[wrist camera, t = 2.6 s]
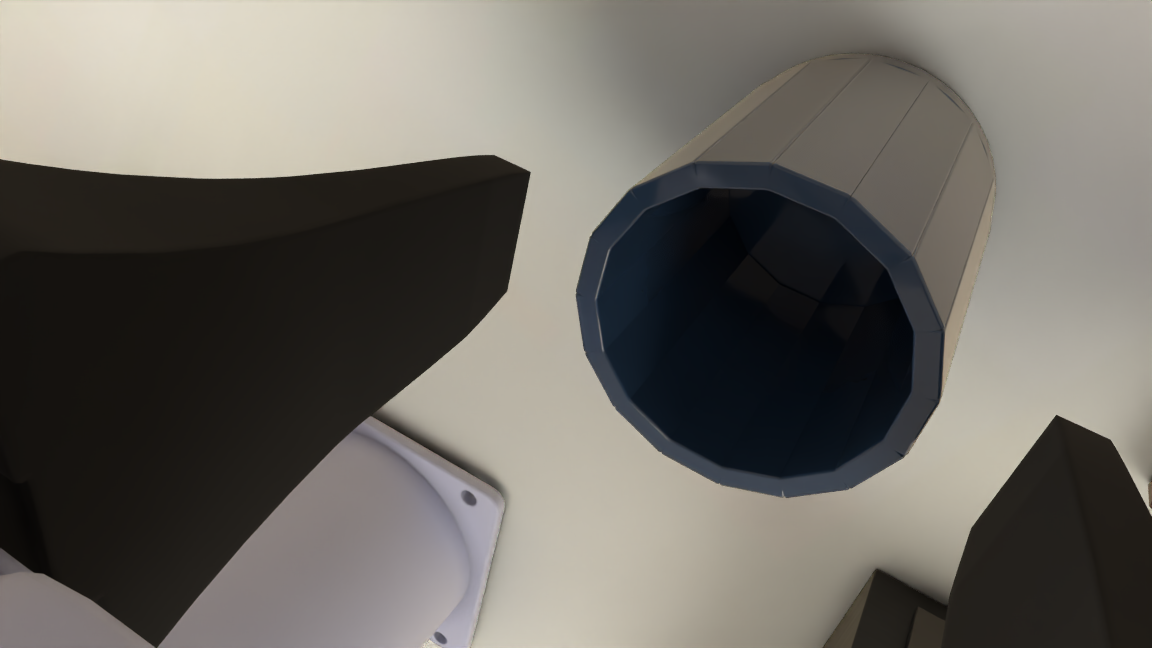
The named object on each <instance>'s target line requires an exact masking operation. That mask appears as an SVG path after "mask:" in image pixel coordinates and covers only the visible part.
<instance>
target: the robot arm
mask: <svg viewBox="0 0 1152 648" xmlns="http://www.w3.org/2000/svg"><path fill="white" fill-rule="evenodd" d="M530 173H531V172H530V171H527V170H525V169H523V168H521V167H519V166H517V165H514V164H512V163H510V162H508V161H506V160H504V159H501V158H499V157H497V156H495V155H478V156H465V157H456V158H447V159H439V160H432V161H424V162H417V163H409V164H402V165H394V166H387V167H379V168H372V169H364V170H354V171H344V172H334V173H323V174H313V175H303V176H291V177H275V178H244V179H195V178H175V177H156V176H137V175H120V174H109V173H99V172H90V171H80V170H71V169H63V168H56V167H48V166H41V165H33V164H26V163H20V162H13V161H7V160H1V159H0V648H422V647H423V646H424V645H425V644H426V642H427V641H428V640H429V639H430V640H431V641H433V642H434V643H436V644H437V645H439V646H440V647H442V648H470V647H471V645H472V641H473V637H474V633H475V629H476V624H477V620H478V616H479V612H480V608H481V604H482V600H483V596H484V592H485V587H486V583H487V579H488V575H489V571H490V567H491V563H492V559H493V555H494V550H495V546H496V542H497V538H498V534H499V530H500V526H501V522H502V518H503V513H504V509H505V502H504V499H503V497H502V495H501V494H500V493H499V491H497V490H496V489H495V488H493V487H492V486H490V485H488V484H487V483H485V482H483V481H481V480H480V479H478V478H476V477H475V476H473V475H471V474H469V473H468V472H466V471H464V470H463V469H461V468H459V467H458V466H456V465H454V464H452V463H451V462H449V461H447V460H446V459H444V458H442V457H440V456H439V455H437V454H435V453H434V452H432V451H430V450H428V449H427V448H425V447H423V446H422V445H420V444H418V443H416V442H415V441H413V440H411V439H410V438H408V437H406V436H404V435H403V434H401V433H399V432H398V431H396V430H394V429H393V428H391V427H389V426H387V425H386V424H384V423H382V422H381V421H379V420H377V419H375V418H374V417H372V416H371V415H372V414H373V413H375V412H376V411H377V410H378V409H379V408H381V407H382V406H383V405H384V404H386V403H387V402H388V401H389V400H390V399H392V398H393V397H394V396H395V395H397V394H398V393H399V392H400V391H401V390H403V389H404V388H405V387H406V386H408V385H409V384H410V383H411V382H413V381H414V380H415V379H416V378H417V377H419V376H420V375H421V374H422V373H424V372H425V371H426V370H427V369H428V368H430V367H431V366H432V365H433V364H434V363H436V362H437V361H438V360H439V359H440V358H442V357H443V356H444V355H445V354H446V353H448V352H449V351H450V350H451V349H452V348H454V347H455V346H456V345H457V344H458V343H460V342H461V341H462V340H463V339H464V338H465V337H466V336H467V335H468V334H469V333H470V332H471V331H472V330H473V329H474V328H475V327H476V326H477V325H478V324H479V322H480V321H481V320H482V319H483V318H484V317H485V316H486V315H487V314H488V313H489V311H490V310H491V309H492V308H493V307H494V306H495V304H496V303H497V302H498V301H499V300H500V299H501V297H502V296H503V295H504V294H505V293H506V292H507V289H508V284H509V279H510V274H511V269H512V264H513V259H514V254H515V249H516V244H517V239H518V234H519V229H520V224H521V219H522V214H523V209H524V203H525V198H526V193H527V188H528V183H529V178H530ZM941 648H1152V516H1151V514H1150V512H1149V510H1148V508H1147V506H1146V505H1145V503H1144V501H1143V499H1142V497H1141V495H1140V493H1139V491H1138V489H1137V487H1136V485H1135V483H1134V481H1133V479H1132V477H1131V475H1130V473H1129V472H1128V470H1127V468H1126V466H1125V464H1124V462H1123V460H1122V458H1121V457H1120V455H1119V453H1118V451H1117V450H1116V448H1115V446H1114V445H1113V443H1112V441H1111V440H1110V439H1108V438H1105V437H1103V436H1101V435H1099V434H1097V433H1095V432H1092V431H1090V430H1088V429H1086V428H1084V427H1082V426H1079V425H1077V424H1075V423H1073V422H1071V421H1069V420H1066V419H1064V418H1062V417H1060V416H1058V415H1056V416H1055V417H1054V419H1053V420H1052V421H1051V423H1050V424H1049V425H1048V427H1047V428H1046V429H1045V431H1044V432H1043V433H1042V435H1041V436H1040V437H1039V439H1038V440H1037V441H1036V443H1035V444H1034V445H1033V447H1032V448H1031V449H1030V451H1029V452H1028V453H1027V455H1026V456H1025V457H1024V459H1023V460H1022V461H1021V463H1020V464H1019V465H1018V467H1017V468H1016V469H1015V471H1014V472H1013V473H1012V475H1011V476H1010V477H1009V479H1008V480H1007V481H1006V483H1005V484H1004V485H1003V487H1002V488H1001V489H1000V491H999V492H998V493H997V495H996V496H995V497H994V499H993V500H992V501H991V503H990V504H989V505H988V507H987V508H986V509H985V511H984V512H983V513H982V515H981V516H980V517H979V519H978V520H977V521H976V523H975V524H974V525H973V527H972V528H971V531H970V534H969V537H968V540H967V543H966V546H965V549H964V552H963V555H962V558H961V561H960V564H959V567H958V570H957V573H956V577H955V580H954V583H953V587H952V590H951V593H950V597H949V602H948V608H947V614H946V620H945V626H944V632H943V638H942V645H941Z"/></svg>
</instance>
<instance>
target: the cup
mask: <svg viewBox="0 0 1152 648" xmlns="http://www.w3.org/2000/svg"><path fill="white" fill-rule="evenodd" d="M995 196H996V175H995V168H994V162H993V157H992V154H991V150H990V147H989V144H988V141H987V138H986V136H985V134H984V132H983V130H982V128H981V126H980V124H979V122H978V121H977V119H976V118H975V116H974V115H973V113H972V112H971V110H970V109H969V107H968V106H967V105H966V104H965V103H964V102H963V101H962V100H961V99H960V97H959V96H958V95H957V94H956V93H955V92H954V91H952V90H951V89H950V88H949V87H948V86H946V85H945V84H944V83H943V82H942V81H940V80H939V79H937V78H936V77H934V76H932V75H931V74H929V73H927V72H926V71H924V70H922V69H920V68H918V67H915V66H913V65H911V64H909V63H907V62H904V61H900V60H897V59H893V58H890V57H886V56H880V55H874V54H865V53H844V54H835V55H828V56H824V57H819V58H815V59H811V60H808V61H806V62H803V63H801V64H798V65H796V66H793V67H791V68H790V69H788V70H786V71H784V72H782V73H780V74H779V75H777V76H776V77H774V78H773V79H771V80H769V81H767V82H765V83H763V84H761V85H760V86H759V87H757V88H756V89H755V90H754V91H752V92H751V93H750V94H749V95H747V96H746V97H745V98H744V99H742V100H741V101H740V102H739V103H737V104H736V105H735V106H733V107H732V108H731V109H730V110H728V111H727V112H726V113H725V114H723V115H722V116H721V117H720V118H718V119H717V120H716V121H715V122H713V123H712V124H711V125H710V126H708V127H707V128H706V129H705V130H703V131H702V132H701V133H700V134H698V135H697V136H696V137H694V138H693V139H692V140H691V141H689V142H688V143H687V144H686V145H684V146H683V147H682V148H681V149H679V150H678V151H677V152H676V153H674V154H673V155H672V156H671V157H669V158H668V159H667V160H666V161H664V162H663V163H662V164H660V165H659V166H658V167H657V168H655V169H654V170H653V171H652V172H650V173H649V174H648V175H647V176H645V177H644V178H643V179H642V180H640V181H639V182H638V183H637V184H635V185H634V186H633V187H632V188H630V189H629V190H628V191H627V192H626V194H625V195H624V196H623V197H622V198H621V199H620V201H619V202H618V203H617V204H616V205H615V206H614V208H613V209H612V210H611V211H610V212H609V213H608V215H607V216H606V217H605V218H604V219H603V220H602V222H601V223H600V224H599V225H598V226H597V227H596V228H595V230H594V231H593V232H592V234H591V236H590V238H589V242H588V246H587V250H586V253H585V257H584V261H583V265H582V269H581V273H580V277H579V280H578V284H577V288H576V301H577V307H578V314H579V320H580V327H581V334H582V340H583V347H584V351H585V352H586V353H585V354H586V356H587V358H588V360H589V362H590V364H591V366H592V368H593V369H594V371H595V373H596V375H597V377H598V379H599V381H600V382H601V384H602V386H603V388H604V390H605V392H606V394H607V395H608V397H609V399H610V401H611V403H612V405H613V406H614V407H615V408H616V410H617V411H618V412H619V413H620V414H621V415H622V416H623V417H624V418H625V419H626V420H627V421H628V422H629V423H630V424H631V425H632V426H633V427H634V428H635V429H636V430H637V431H638V432H639V433H640V434H641V435H642V436H643V437H644V438H646V439H647V440H648V441H649V442H650V443H651V444H652V445H653V446H654V447H655V448H656V449H657V450H658V451H659V452H662V454H663V455H665V456H667V457H668V458H670V459H672V460H674V461H676V462H678V463H680V464H681V465H683V466H685V467H687V468H689V469H691V470H693V471H694V472H696V473H698V474H700V475H702V476H704V477H706V478H707V479H709V480H711V481H713V482H715V483H717V484H719V483H720V485H723V486H727V487H732V488H737V489H742V490H747V491H752V492H757V493H762V494H767V495H772V496H777V497H786V498H789V497H797V496H804V495H812V494H820V493H827V492H835V491H842V490H848V489H849V488H853V487H855V486H856V485H858V484H860V483H862V482H863V481H865V480H867V479H868V478H870V477H872V476H873V475H875V474H877V473H879V472H880V471H882V470H884V469H885V468H887V467H889V466H890V465H892V464H894V463H896V462H897V461H899V460H901V459H902V458H904V456H905V455H907V454H908V453H909V451H910V450H911V448H912V446H913V445H914V443H915V442H916V440H917V438H918V437H919V435H920V434H921V432H922V430H923V429H924V427H925V426H926V424H927V423H928V421H929V419H930V418H931V416H932V415H933V413H934V411H935V410H936V408H937V407H938V405H939V403H940V400H941V397H942V394H943V391H944V387H945V384H946V381H947V377H948V374H949V370H950V367H951V364H952V360H953V357H954V353H955V350H956V346H957V343H958V340H959V336H960V333H961V329H962V326H963V323H964V319H965V316H966V312H967V309H968V305H969V302H970V299H971V295H972V292H973V288H974V285H975V282H976V278H977V275H978V271H979V268H980V264H981V261H982V258H983V254H984V251H985V247H986V244H987V241H988V237H989V234H990V230H991V219H992V214H993V208H994V202H995Z"/></svg>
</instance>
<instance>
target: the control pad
mask: <svg viewBox="0 0 1152 648" xmlns="http://www.w3.org/2000/svg"><path fill="white" fill-rule="evenodd" d="M1148 492H1149V506H1150V507H1151V508H1152V481H1151V482H1150V483H1149V484H1148Z"/></svg>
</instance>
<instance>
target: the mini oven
mask: <svg viewBox="0 0 1152 648" xmlns="http://www.w3.org/2000/svg"><path fill="white" fill-rule="evenodd" d="M947 608H948V607H946V606H945V605H943V604H941V603H939V602H937V601H935V600H933V599H931V598H930V597H928V596H926V595H924V594H922V593H920V592H918V591H917V590H915V589H913V588H911V587H909V586H907V585H905V584H904V583H902V582H900V581H898V580H896V579H894V578H892V577H891V576H889V575H887V574H885V573H883V572H881V571H879V570H875V571H874V573H873V574H872V576H871V577H870V579H869V580H868V582H867V583H866V585H865V586H864V588H863V589H862V591H861V592H860V594H859V595H858V597H857V598H856V599H855V601H854V602H853V604H852V605H851V607H850V608H849V610H848V611H847V613H846V614H845V616H844V617H843V619H842V620H841V622H840V623H839V625H838V626H837V628H836V629H835V631H834V632H833V634H832V635H831V637H830V638H829V639H828V641H827V642H826V644H825V645H824V647H823V648H941V645H942V638H943V632H944V626H945V620H946V614H947Z"/></svg>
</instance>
